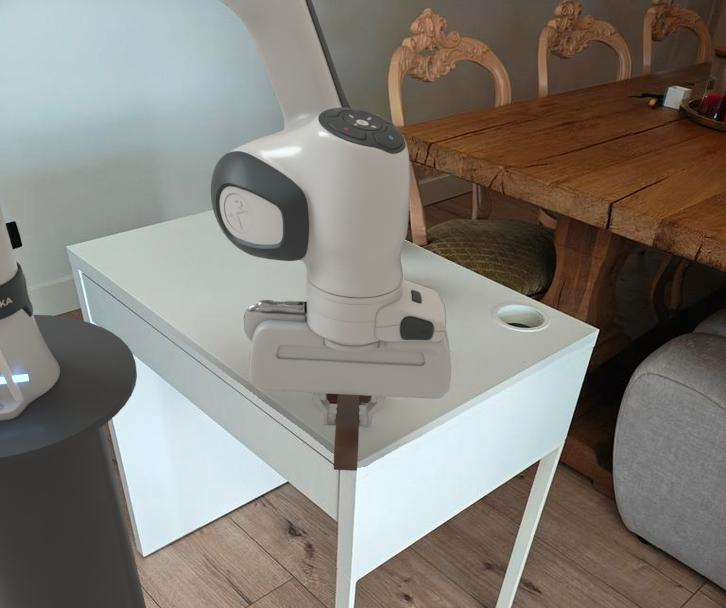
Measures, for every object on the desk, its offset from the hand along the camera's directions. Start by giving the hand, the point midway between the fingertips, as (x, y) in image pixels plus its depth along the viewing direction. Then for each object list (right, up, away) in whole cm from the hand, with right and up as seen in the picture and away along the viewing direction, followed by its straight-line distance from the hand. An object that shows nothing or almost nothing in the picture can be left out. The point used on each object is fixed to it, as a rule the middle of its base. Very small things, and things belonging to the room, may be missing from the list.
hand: (347, 422), depth 76 cm
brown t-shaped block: (0, -1, +1) cm, 2 cm away
